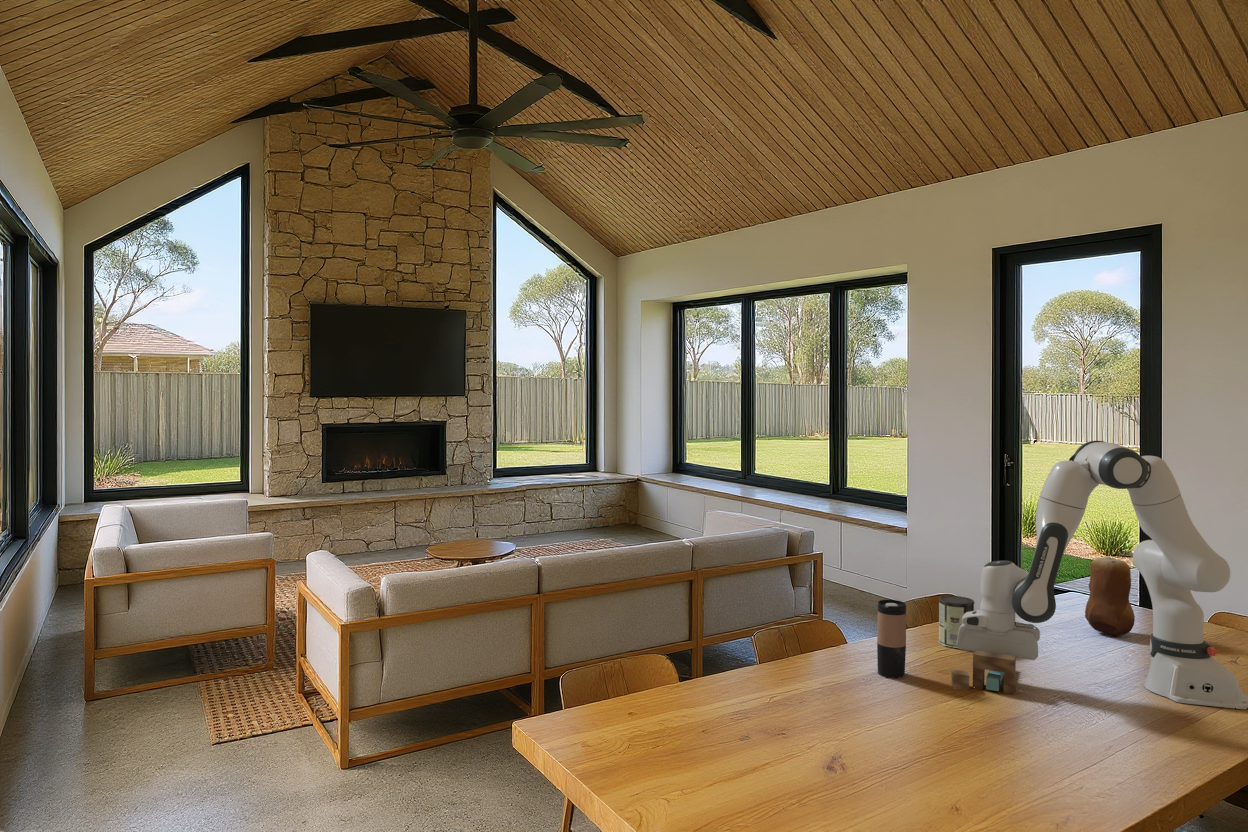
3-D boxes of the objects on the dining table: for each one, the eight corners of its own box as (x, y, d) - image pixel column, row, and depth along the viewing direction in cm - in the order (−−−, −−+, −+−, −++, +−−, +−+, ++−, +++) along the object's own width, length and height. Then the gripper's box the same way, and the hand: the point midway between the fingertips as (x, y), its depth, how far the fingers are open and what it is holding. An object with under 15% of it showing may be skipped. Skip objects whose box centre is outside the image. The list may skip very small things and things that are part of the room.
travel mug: (901, 669, 229) (902, 599, 228) (908, 679, 221) (909, 607, 221) (874, 668, 230) (875, 599, 229) (880, 678, 222) (880, 606, 221)
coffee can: (965, 639, 258) (966, 595, 257) (979, 649, 247) (980, 603, 247) (933, 639, 258) (933, 595, 257) (945, 649, 248) (946, 603, 247)
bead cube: (966, 685, 217) (966, 670, 217) (969, 690, 213) (969, 675, 213) (950, 684, 218) (951, 669, 218) (953, 689, 214) (953, 674, 214)
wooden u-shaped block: (1015, 689, 214) (1015, 656, 213) (1014, 694, 210) (1014, 660, 210) (974, 683, 219) (974, 650, 218) (972, 687, 215) (973, 654, 215)
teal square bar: (1005, 667, 230) (1006, 656, 230) (998, 691, 211) (998, 679, 211) (994, 665, 232) (994, 654, 232) (985, 689, 213) (986, 677, 212)
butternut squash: (1134, 632, 265) (1135, 557, 264) (1134, 643, 254) (1135, 564, 253) (1085, 626, 273) (1086, 552, 272) (1083, 636, 261) (1085, 559, 260)
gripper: (1040, 622, 219) (1039, 673, 219) (959, 612, 229) (958, 660, 229) (1039, 628, 213) (1038, 680, 214) (956, 617, 223) (955, 666, 224)
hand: (996, 669), depth 221 cm, fingers closed on teal square bar, 3 cm apart
